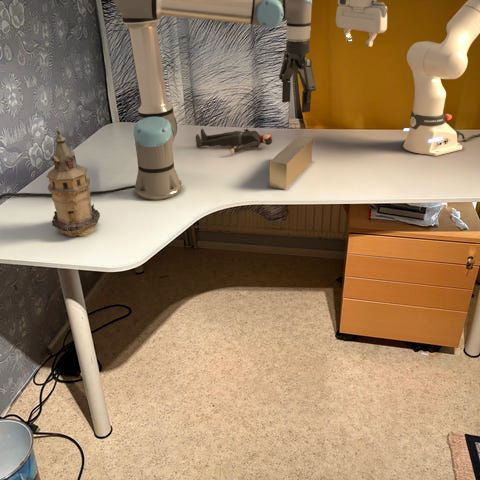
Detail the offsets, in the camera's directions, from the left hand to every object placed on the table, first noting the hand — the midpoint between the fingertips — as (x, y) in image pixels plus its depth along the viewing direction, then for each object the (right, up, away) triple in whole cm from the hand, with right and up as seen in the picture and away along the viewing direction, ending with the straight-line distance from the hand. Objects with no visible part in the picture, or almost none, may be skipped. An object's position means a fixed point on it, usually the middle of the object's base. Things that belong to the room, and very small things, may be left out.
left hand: (295, 106), depth 179 cm
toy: (-21, -7, +36) cm, 42 cm away
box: (0, -21, +11) cm, 24 cm away
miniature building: (-66, -41, -23) cm, 81 cm away
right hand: (+22, +22, +4) cm, 32 cm away
